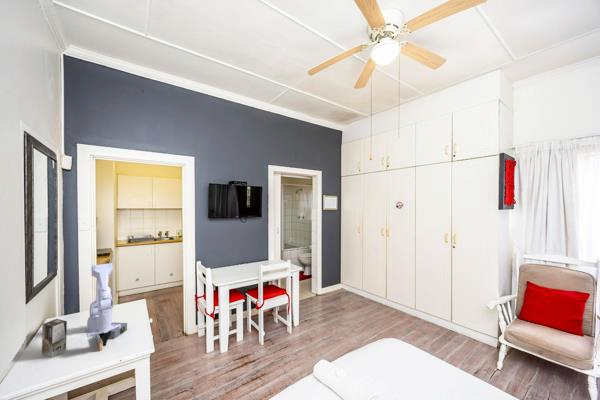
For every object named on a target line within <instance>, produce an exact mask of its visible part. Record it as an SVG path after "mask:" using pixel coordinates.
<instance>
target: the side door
mask: <svg viewBox="0 0 600 400" xmlns="http://www.w3.org/2000/svg"><path fill="white" fill-rule="evenodd" d="M95 339H96V343H97V345H98V349H99V351H102V350H103V343H102V340H101V338H100V336H99V334H98V335H95Z"/></svg>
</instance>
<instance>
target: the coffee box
mask: <svg viewBox="0 0 600 400" xmlns="http://www.w3.org/2000/svg"><path fill="white" fill-rule="evenodd" d="M67 322H68V321H67V320H64V319H59V318H56V319H52V320H49V321H47V322H44V323H42V327H41V328H42V331H41V332H42V333H41V338H42V339H41V343H42V344H41V354H42V355H44V356H47V357H50V358H54V357H55V356H58V355H61V354H62V353H65V352H66V351H67V329H68V328H67V327H68V323H67Z"/></svg>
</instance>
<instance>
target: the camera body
mask: <svg viewBox="0 0 600 400" xmlns="http://www.w3.org/2000/svg"><path fill="white" fill-rule="evenodd" d="M116 324H121V328H118V329H114V330H111V335H110V336H109V338H108V340H109V339H110V340H111V339H112V340H115V339H117V338H118V337H120V336H121V335H122V334H123V333H125V332H126V331H127V330H128V323H127V322H111V325H116Z"/></svg>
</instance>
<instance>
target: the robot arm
mask: <svg viewBox="0 0 600 400" xmlns="http://www.w3.org/2000/svg"><path fill="white" fill-rule="evenodd" d="M113 265H114V264H113V263H112V262H110V263H109V262H108V263H102V264H100V263H99V264H95V265H94V264H93V265H92V266H91V276H92V277H94V278H96V290H95V292H96V294H95V300H94V301H93V302H91V303H90V305H89V317H88V318H87V321H86V330H85V332H86V333H87V334H86V335H87V336H86V337H87V339H89V338H92V337H94V336H95V337H96V335H98V334H99V336H100V339H101V341H102V347H106V346H107V343H108V340H109V339H108V338H109V336H110V335H111V330H114V329H118V328H121V324H116V325H111V323H112V313H113V312H112V311H113V310H112V309H113V307H114V300H113V297H112V292H111V291H112V290H111V287H110V286H108V285H109V276H111V275H112V273H113V271H114V270H113Z"/></svg>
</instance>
